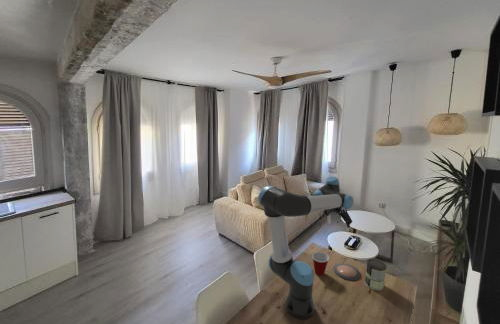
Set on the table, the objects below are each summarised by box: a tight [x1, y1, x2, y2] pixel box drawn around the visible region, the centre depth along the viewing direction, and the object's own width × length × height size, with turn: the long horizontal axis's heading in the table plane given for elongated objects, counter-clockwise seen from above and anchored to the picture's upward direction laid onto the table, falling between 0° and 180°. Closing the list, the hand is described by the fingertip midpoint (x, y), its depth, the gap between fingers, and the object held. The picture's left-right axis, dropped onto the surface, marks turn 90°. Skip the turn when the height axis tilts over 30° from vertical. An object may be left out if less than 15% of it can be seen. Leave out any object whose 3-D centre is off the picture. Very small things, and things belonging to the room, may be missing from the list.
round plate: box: [333, 262, 361, 281], centre depth 154 cm, size 16×16×1 cm
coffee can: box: [364, 258, 388, 291], centre depth 142 cm, size 10×10×14 cm
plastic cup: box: [311, 251, 330, 276], centre depth 152 cm, size 11×11×12 cm
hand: (338, 226), depth 157 cm, fingers open, 13 cm apart
